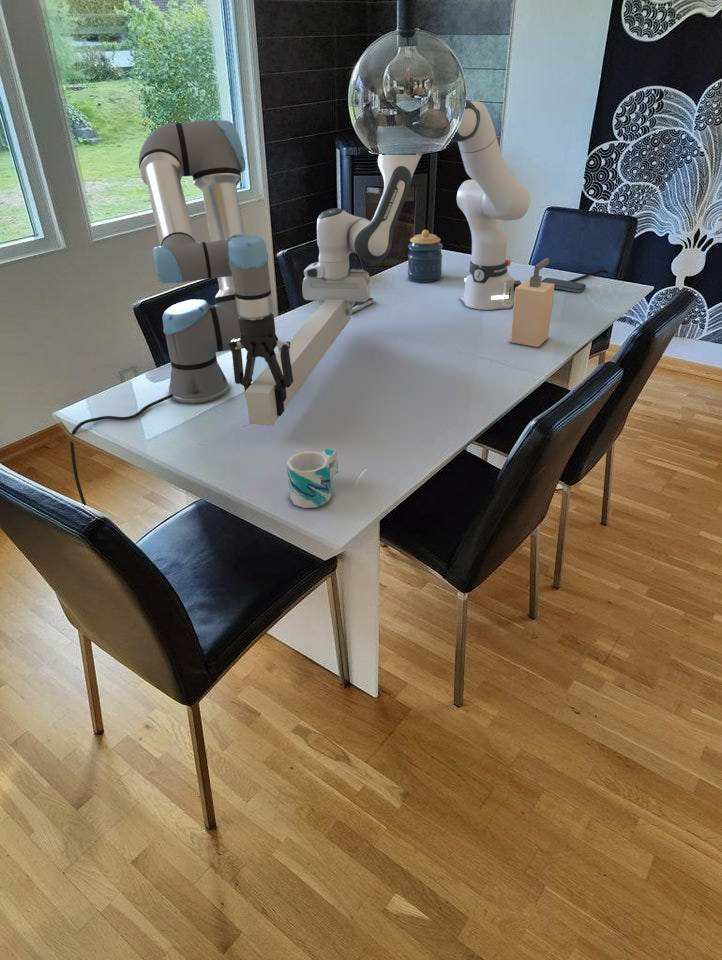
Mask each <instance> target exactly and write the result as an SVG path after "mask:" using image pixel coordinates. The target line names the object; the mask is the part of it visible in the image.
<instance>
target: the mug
mask: <svg viewBox="0 0 722 960" xmlns="http://www.w3.org/2000/svg"><path fill="white" fill-rule="evenodd" d="M338 460H339V459H338V451H336V450H333V449H329V448H325V450H323V451H322V452H321V451H320V452H319V451H317V450H306V451H305V450H304V451H303V450H302V451H299V452H297V453H295V454H293V455H290V456H289V458H288V460H287V461H286V470H287V472H286V473H287V479H288V488H289V497H290V500H291V501H292V504H293V505H295V506H296V507H297V506H298V507H300V508H303V509H311V508H314V509H315V508H319V507H322V506H323V505H325V504H327V503H329V501H330V499H331V498H332V484H331V479H332V478H334V477H335V476H336V475H338V473H339V461H338Z"/></svg>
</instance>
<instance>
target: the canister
mask: <svg viewBox="0 0 722 960" xmlns="http://www.w3.org/2000/svg"><path fill="white" fill-rule="evenodd" d="M409 242H410V243H409V244H408V245H407V248H408V254H407V257H408V258H407V261H408V263H407V276H408V277H407V279H409V280H410V281H413V282H418V283H430V282H436V281H438V280H440V279H441V278H442V274H443V271H442V268H443V267H442V265H443V264H442V263H443V253H442V249H443V247H444V246H443V244H442V243H441V238H440V237H438V235H437V234H433V233H430V231H429V230H428V229H423V230H422V232H421V233H419V234H415V235H414V236H412V237H411V238H410V239H409Z"/></svg>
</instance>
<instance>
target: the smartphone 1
mask: <svg viewBox="0 0 722 960" xmlns="http://www.w3.org/2000/svg"><path fill="white" fill-rule="evenodd" d="M373 303H374V298H373V297H369V299H368V300H367V301H366V302H355V303H354V305H353V307H352V314H353V313H355V312H357V311H359V310H362V309H364V307H367V306H369V305H372V304H373Z"/></svg>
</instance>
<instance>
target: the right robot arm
mask: <svg viewBox="0 0 722 960" xmlns="http://www.w3.org/2000/svg"><path fill="white" fill-rule="evenodd" d="M450 142H454V143H457V146H458V148H459V153H460V156H461V159H462V163H463V167H464V171H465V172H466V174H467V176H468V177H469V178H471V179H467V180H465V181H463V182H462V183H461V184H460V186H459V188H458V189H457V194H456V205H457V207H458V209H460V210H461V212H462V214H463V215H464V216H465V219H466V221H467V223H468V226H469V230H470V234H471V260H470V262H469V266H468V267H469V268H468V269H469V274H468V275H467V276H466V278H465V277H464V279H463V280H464V282H465V283H464V290H463V291H464V292H463V295H461V296H460V301H462V302H463V305H465V307H468V308H469V309H470V308H471V309H474V310H480V311H482V310H483V311H494V310H502V309H504V310H507V309H511V308H512V307H514V298H515V288H516V287H518V286H519V285H520V284H522V283H523V282H521V280H515V279H514V277H512V275H510V274H509V272H508V267H510V266H511V262H512V261H511V259H506V258H507V257H506V255H507V243H508V239H507V236H506V233H505V232H504V231H502V228H500V226H499V224H498V221H497V220H499V221H518V220H521V219H522V218H524V216H525V215H527V212H528V211H529V208H530V205H531V195H530V192H529V190H528V189H527V187H525V186H524V185H522V184H521V183H520V182H519V181H518V180H517V179H516V178H515V176H514V175H513V174H512V172H511V171H510V170H509V168H508V167H507V164H506V163H505V161H504V158H503V156H502V152H501V149H500V146H499V141H498V137H497V133H496V129H495V126H494V123H493V120H492V117H491V115H490V113H489V110H488V108H487V106H486V105H485V104H484V103H483V102H482V101H479V100H468V99H467V100H466V107H465V111H464V114H463V118H462V121H461V124H460V126H459V128H458V130H457V132H456V133H455V135H454V137H453V138H452V139H451V141H450ZM422 156H423V153H422V154H416V155H382V154H379V153H378V156H377V157H378V158H377V166H378V169H379V171H380V173H381V175H382V179H383V191H382V194H381V197H380V200H379V202H378V205H377V208H376V210H375V212H374V215H373V218H372V219H371V220H369V219H367V218H365V217H361V216H357V215H353V214H352V213H349V212H347V211H345V210H344V209H342V208H338V207H336V208H330V209H326V210H324V211H322V212H321V213H320V214H319V215H318V217H317V221H316V243H317V246H318V250H319V253H318V261H315V262H314V263H311V264H309V265H308V266H307V267H305V269H304V270H303V275H304V278H303V281H302V283H301V285H302V286H301V288H302V289H301V290H302V292H301V294H302V298H303V299H304V300H305V301H316V302H317V301H318V304H319V307H320V306H321V305H322V303H323V302H324V301H325V300H326V299H335V300H344V301H349V305H350V307H349V308H347V309H346V315H347V316H351V317H352V314H353V313H352V307H353V305H354V303H355V302H366V301H367V300H368V299H369V298H371V291H370V290H371V289H370V280H371V279H370V273H369V272H368V271H367V270H365V269H363V268H359V269H358V268H351V267H350V255H351V254H354V253H355V254H356V255H357V256H358V257H359V258H360V259H361V260H363V261H364V262H366V263H369V264H374V263H379V262H382V261H383V260H384V259H385V258H386V257H387V256H388V255H389V253H390V251H391V248H392V243H393V235H394V231H395V226H396V224H397V222H398V219H399V217H400V214H401V212H402V209H403V206H404V204H405V203H406V199H407V197H408V194H409V190H410V187H411V183H412V179H413V176H414V173H415V171H416V169H417V166H418V164H419V162H420V159H421V158H422ZM601 273H605V274H609V271H608V270H607V269H604V268H603V269H597V270H596V271H593V272H589V273H586V274H584V275H581V276H579V277H576V278H573V279H570V280H568V281H571V282H577V281H580V280H582V279H585V278H588V277H591V276H595V275H597V274H601Z"/></svg>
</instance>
